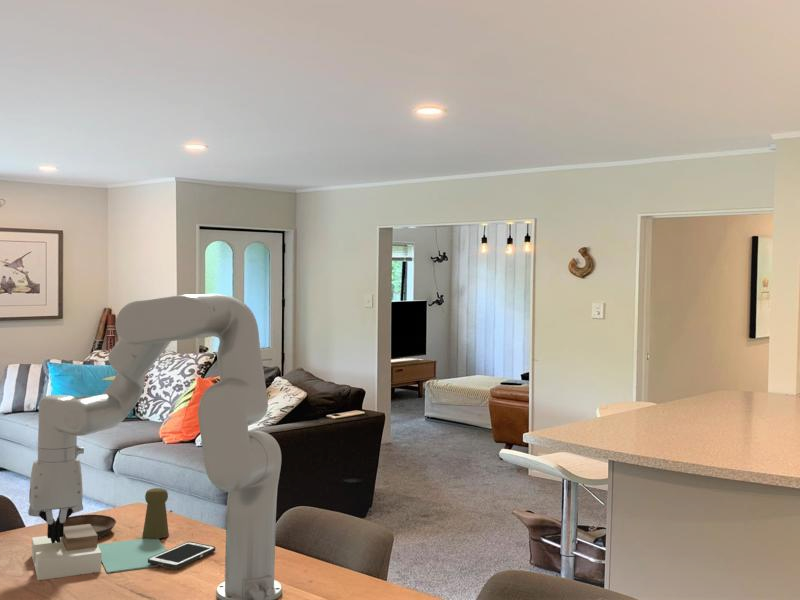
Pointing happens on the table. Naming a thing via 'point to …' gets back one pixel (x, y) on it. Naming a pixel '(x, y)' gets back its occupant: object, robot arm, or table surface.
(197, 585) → the table surface
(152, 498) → the pepper mill
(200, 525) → the table surface
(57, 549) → the slotted block
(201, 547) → the cell phone
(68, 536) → the brown flat block
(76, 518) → the saucer
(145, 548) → the mat
